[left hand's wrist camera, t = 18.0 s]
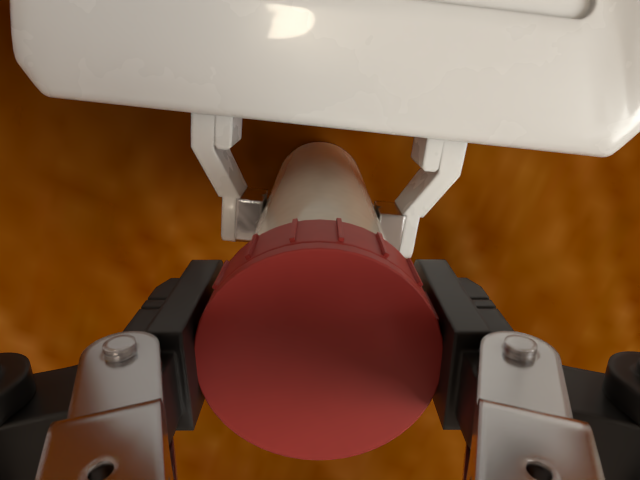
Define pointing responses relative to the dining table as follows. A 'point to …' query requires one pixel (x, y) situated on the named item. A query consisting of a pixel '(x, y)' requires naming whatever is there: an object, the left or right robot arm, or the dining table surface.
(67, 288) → the dining table surface
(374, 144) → the dining table surface
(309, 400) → the lid
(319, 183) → the beige cylinder
